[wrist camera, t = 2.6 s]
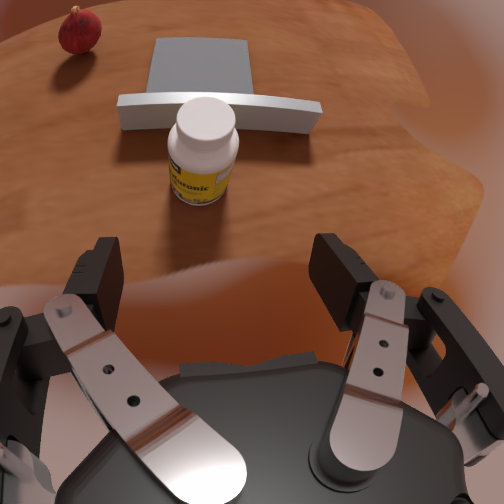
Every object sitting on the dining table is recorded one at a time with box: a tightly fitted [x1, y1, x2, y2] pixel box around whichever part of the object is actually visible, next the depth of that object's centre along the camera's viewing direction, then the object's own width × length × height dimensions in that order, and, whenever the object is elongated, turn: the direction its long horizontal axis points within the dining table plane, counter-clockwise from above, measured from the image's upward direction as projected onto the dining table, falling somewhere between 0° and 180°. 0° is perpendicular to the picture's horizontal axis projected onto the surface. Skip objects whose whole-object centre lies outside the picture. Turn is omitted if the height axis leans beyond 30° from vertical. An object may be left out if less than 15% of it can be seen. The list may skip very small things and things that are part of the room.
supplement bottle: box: [168, 96, 239, 206], centre depth 24 cm, size 5×5×10 cm
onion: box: [58, 6, 102, 54], centre depth 26 cm, size 6×6×8 cm
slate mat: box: [146, 37, 253, 95], centre depth 32 cm, size 12×12×1 cm
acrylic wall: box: [117, 92, 322, 134], centre depth 28 cm, size 20×2×4 cm, turn 95°
